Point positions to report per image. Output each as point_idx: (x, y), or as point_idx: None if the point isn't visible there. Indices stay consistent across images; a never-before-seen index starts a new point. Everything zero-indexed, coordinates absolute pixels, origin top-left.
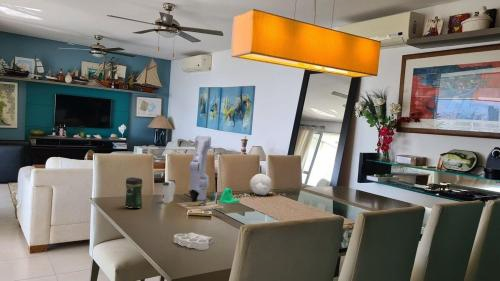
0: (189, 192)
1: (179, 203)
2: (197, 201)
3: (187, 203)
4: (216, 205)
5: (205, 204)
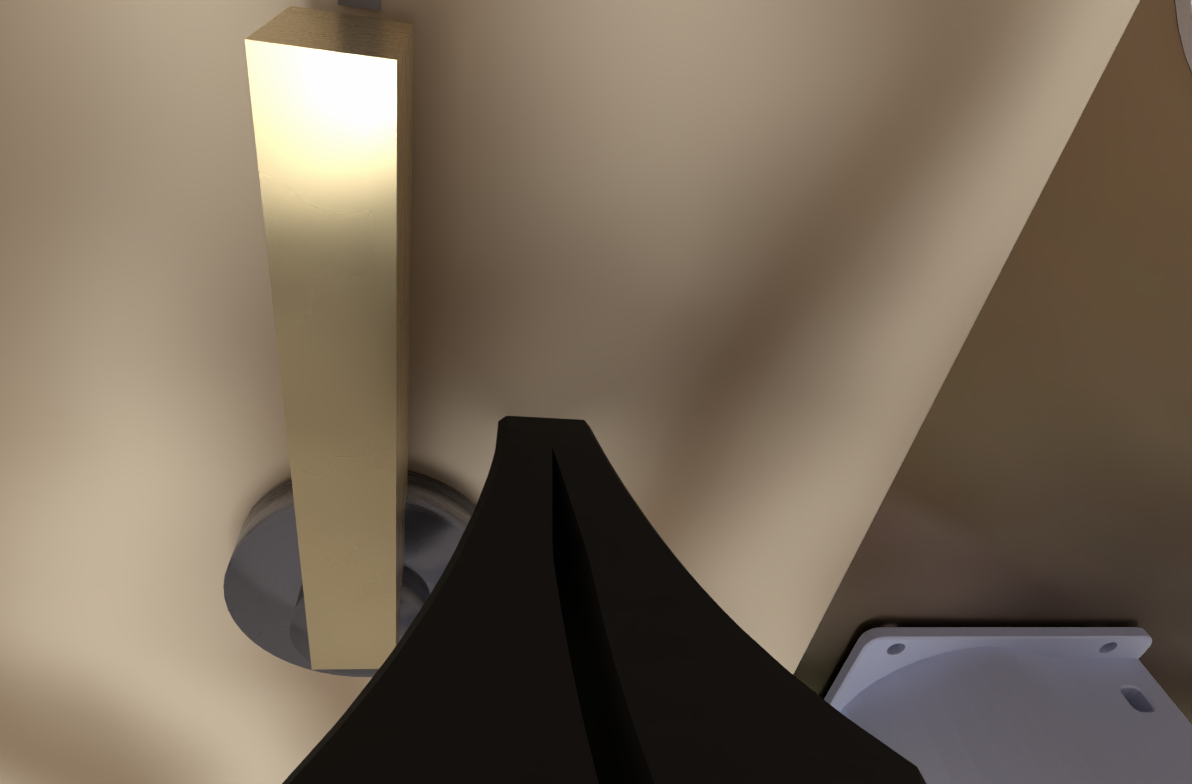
0: (873, 738)
1: (1073, 62)
2: (360, 546)
3: (329, 38)
4: (194, 769)
5: (264, 631)
